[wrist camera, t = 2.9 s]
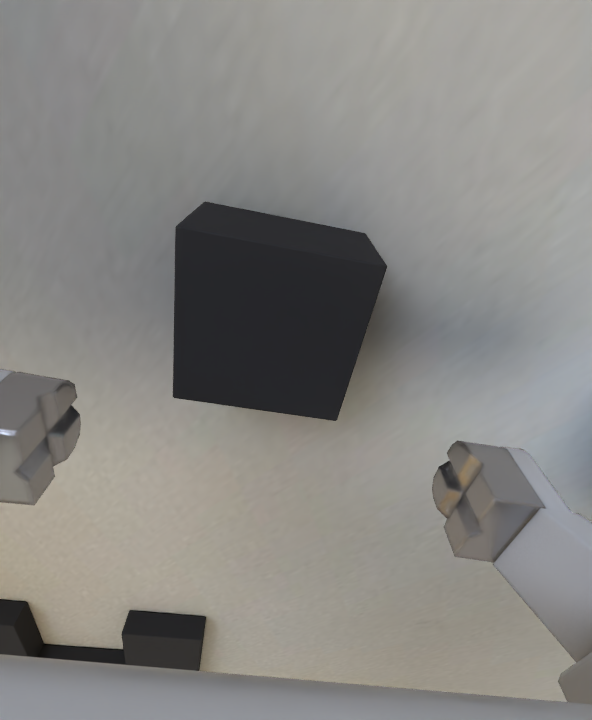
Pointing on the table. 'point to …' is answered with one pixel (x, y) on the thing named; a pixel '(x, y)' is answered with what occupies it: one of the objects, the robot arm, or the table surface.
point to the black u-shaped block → (140, 642)
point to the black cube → (270, 310)
